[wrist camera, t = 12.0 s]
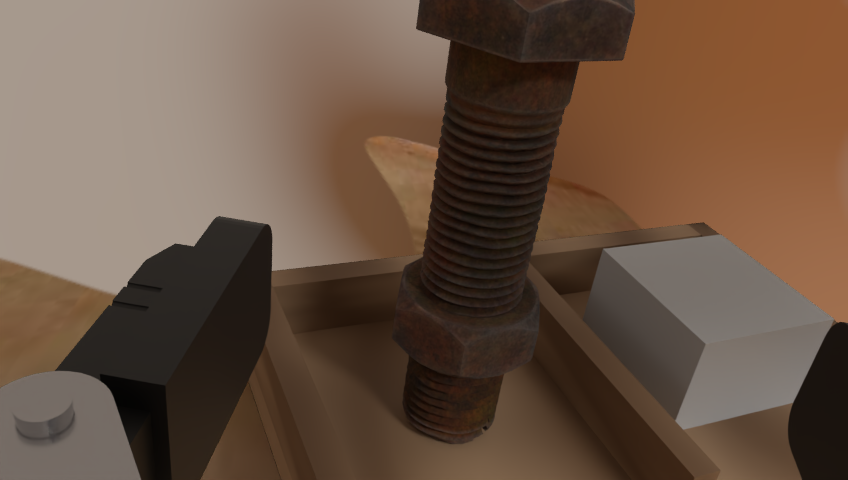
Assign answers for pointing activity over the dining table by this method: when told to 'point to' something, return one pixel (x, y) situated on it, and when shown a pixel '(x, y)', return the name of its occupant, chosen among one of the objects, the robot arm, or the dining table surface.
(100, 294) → the dining table surface
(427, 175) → the dining table surface
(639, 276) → the grey block
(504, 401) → the tray
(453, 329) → the bolt
